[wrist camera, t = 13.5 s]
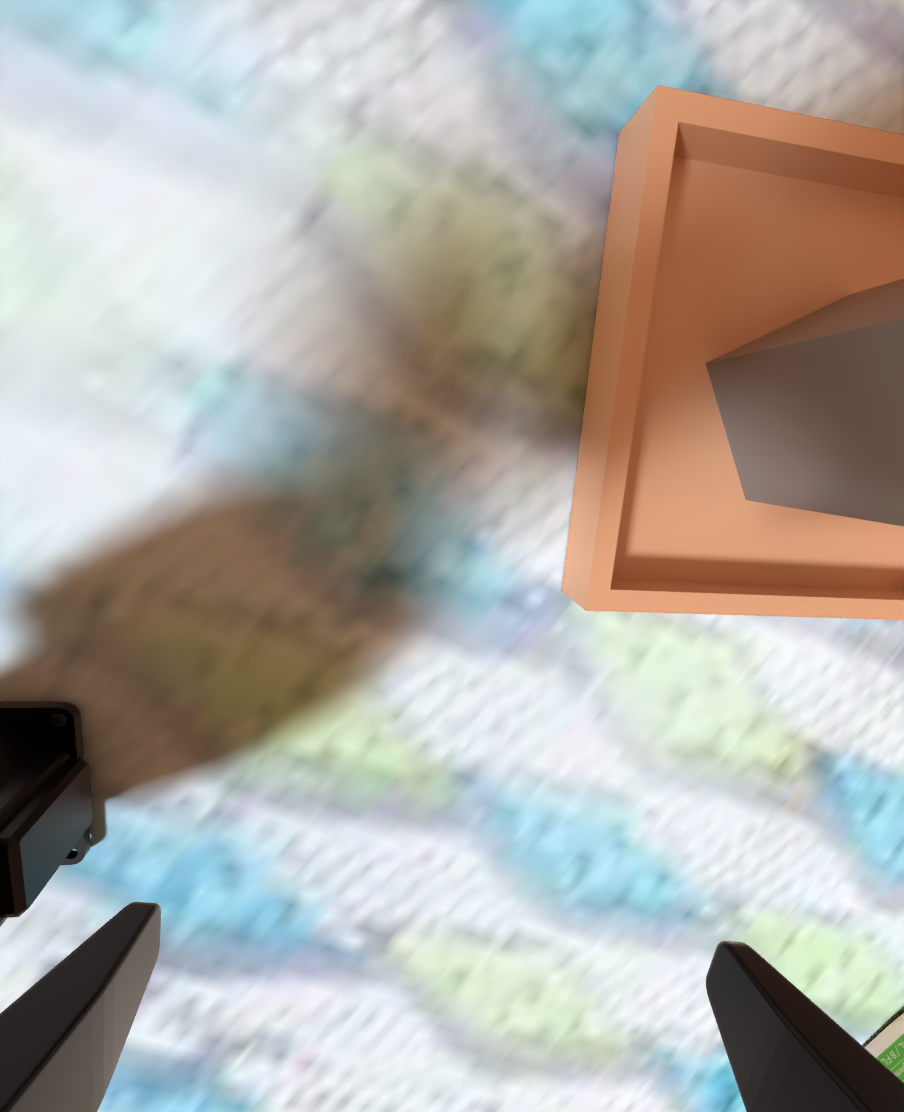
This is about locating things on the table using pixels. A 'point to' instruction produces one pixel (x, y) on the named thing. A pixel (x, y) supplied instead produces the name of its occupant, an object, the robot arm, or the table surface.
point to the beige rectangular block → (822, 409)
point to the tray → (709, 332)
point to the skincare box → (890, 1047)
